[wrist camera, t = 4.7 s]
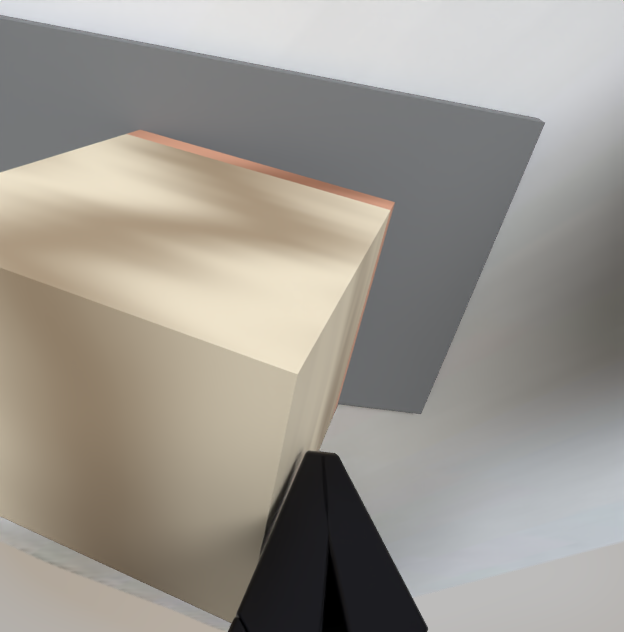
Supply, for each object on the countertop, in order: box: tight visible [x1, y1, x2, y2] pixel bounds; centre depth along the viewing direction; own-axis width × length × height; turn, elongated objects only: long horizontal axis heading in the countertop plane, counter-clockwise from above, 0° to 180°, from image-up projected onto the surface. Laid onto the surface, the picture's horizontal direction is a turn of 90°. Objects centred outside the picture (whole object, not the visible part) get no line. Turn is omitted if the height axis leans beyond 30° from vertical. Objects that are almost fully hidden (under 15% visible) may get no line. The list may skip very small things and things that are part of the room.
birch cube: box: [0, 130, 395, 623], centre depth 11 cm, size 7×7×7 cm
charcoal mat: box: [0, 15, 545, 414], centre depth 15 cm, size 25×11×1 cm, turn 80°
